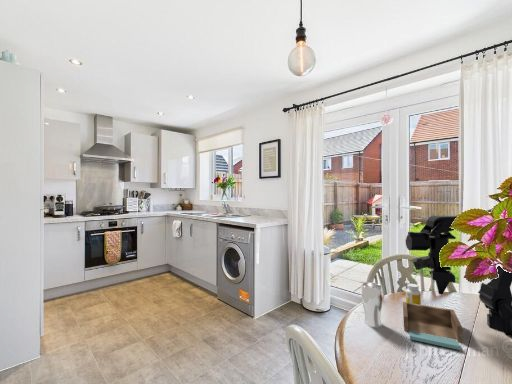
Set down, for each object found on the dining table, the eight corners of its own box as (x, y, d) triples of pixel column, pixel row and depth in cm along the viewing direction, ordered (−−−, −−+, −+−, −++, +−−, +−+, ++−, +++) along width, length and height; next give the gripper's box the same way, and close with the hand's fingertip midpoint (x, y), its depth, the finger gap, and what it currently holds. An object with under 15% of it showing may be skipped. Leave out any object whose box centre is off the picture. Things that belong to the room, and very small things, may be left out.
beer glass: (385, 331, 90) (384, 289, 90) (364, 330, 91) (363, 288, 91) (380, 322, 96) (379, 282, 97) (360, 320, 98) (359, 281, 98)
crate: (454, 326, 92) (453, 309, 92) (462, 345, 81) (462, 326, 81) (403, 317, 100) (402, 301, 100) (404, 333, 88) (403, 316, 88)
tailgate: (455, 339, 82) (460, 346, 76) (456, 343, 82) (460, 350, 76) (409, 330, 88) (409, 335, 82) (409, 333, 88) (410, 339, 82)
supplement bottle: (404, 307, 108) (403, 285, 109) (409, 304, 112) (408, 282, 112) (418, 311, 104) (417, 288, 104) (422, 308, 108) (422, 285, 108)
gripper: (411, 244, 104) (413, 282, 104) (414, 254, 88) (416, 299, 88) (445, 246, 99) (446, 286, 99) (455, 257, 83) (456, 305, 82)
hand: (440, 293), depth 92 cm, fingers closed
